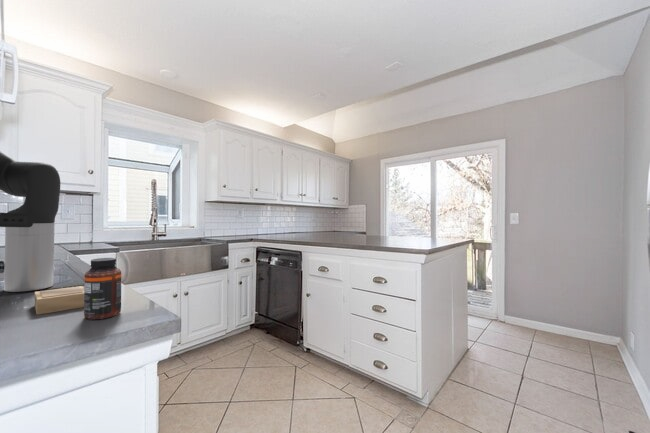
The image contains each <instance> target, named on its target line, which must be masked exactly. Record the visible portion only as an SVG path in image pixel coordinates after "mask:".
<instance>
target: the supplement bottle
mask: <svg viewBox="0 0 650 433" xmlns="http://www.w3.org/2000/svg"><path fill="white" fill-rule="evenodd" d="M116 262H117V261H116V258H115V257H100V258H99V257H98V258H93V259H91V260H90V267H91V268H90V269H88V270H87V271H86V272H85V274H84V283H83V284H84V286H83V287H84V307H83V308H84V309H83V317H84V318H85V319H87V320H92V321H93V320H95V321H96V320H105V319H109V318H112V317H115V316H116V317H117V315H119V314H120V313H121V311H122V270H121V269H120V268H118V267H117V266H116V265H117V263H116Z"/></svg>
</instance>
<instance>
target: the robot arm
mask: <svg viewBox="0 0 650 433" xmlns="http://www.w3.org/2000/svg"><path fill="white" fill-rule="evenodd" d="M0 191H2V192H4V193H5V194H7V195H11V196H13V197H17V198H21V197H22V198H24V202H23V203H22V205H20V206H19V207H18V208H14V209H12V210H9V211H8V212H0V228H5V231H4V234H5V235H4V274H3V291H4V292H9V293H12V292H13V293H16V292H18V293H19V292H29V291H37V290H43V289H47V288H50V287H53V285H54V267H55V266H54V265H55V261H54V260H55V222H56V221H55V220H56V216H57V214H58V211H59V207H60V206H59V203H60V196H61V195H60V194H61V177H60V174H59V171H58V170H57V169H56V167H55V166H53V165H52V164H50V163H48V162H47V163H45V162H37V161H36V162H34V161H18V160H16V159H13V158H12V157H10V156H8V155H6V154H5V153H4V152H2V151H0Z"/></svg>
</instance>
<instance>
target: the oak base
mask: <svg viewBox="0 0 650 433" xmlns="http://www.w3.org/2000/svg"><path fill="white" fill-rule="evenodd" d="M79 308H84V286H83V285H79V286H72V287H63V288H55V289H54V288H53V289H47V290H40V291H37V290H36V291H34V310H35V313H36V315H43V314H49V313H57V312H61V311H62V312H63V311H68V310H74V309H79Z"/></svg>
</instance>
